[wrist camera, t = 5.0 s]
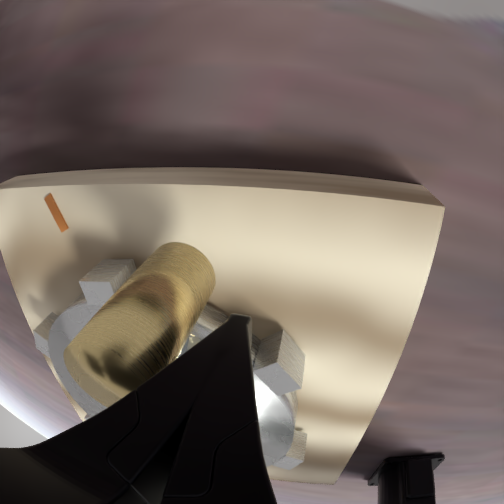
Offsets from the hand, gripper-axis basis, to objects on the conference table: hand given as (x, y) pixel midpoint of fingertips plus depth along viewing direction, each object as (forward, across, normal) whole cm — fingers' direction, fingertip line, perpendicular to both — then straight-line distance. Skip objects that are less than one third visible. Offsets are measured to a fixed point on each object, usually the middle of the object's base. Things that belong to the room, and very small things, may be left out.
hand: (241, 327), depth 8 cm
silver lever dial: (+4, +6, +10) cm, 12 cm away
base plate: (+7, +6, +10) cm, 14 cm away
